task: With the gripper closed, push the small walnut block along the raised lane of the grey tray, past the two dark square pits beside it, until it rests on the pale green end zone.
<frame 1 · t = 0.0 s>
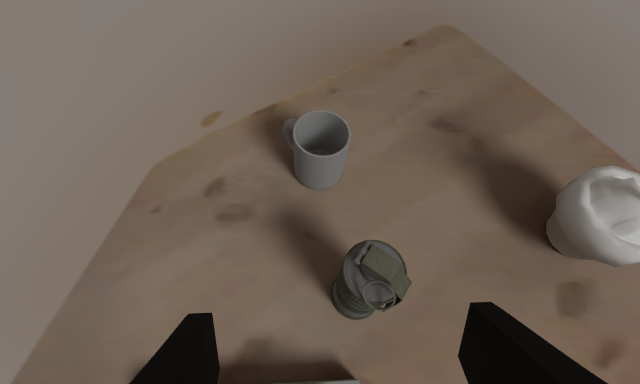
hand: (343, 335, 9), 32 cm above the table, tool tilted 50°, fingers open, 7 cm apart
cup: (310, 165, 50), on the table
grenade: (355, 295, 42), on the table
potted plant: (562, 236, 47), on the table
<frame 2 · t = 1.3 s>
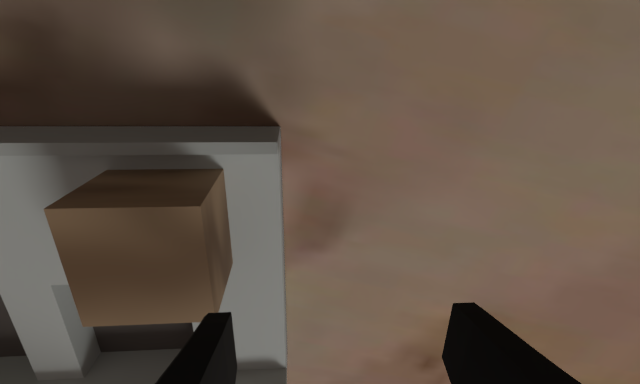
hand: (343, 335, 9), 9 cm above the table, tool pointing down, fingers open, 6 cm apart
block: (174, 219, 16), point 2 cm above the table, touching tray
tray: (84, 261, 18), on the table
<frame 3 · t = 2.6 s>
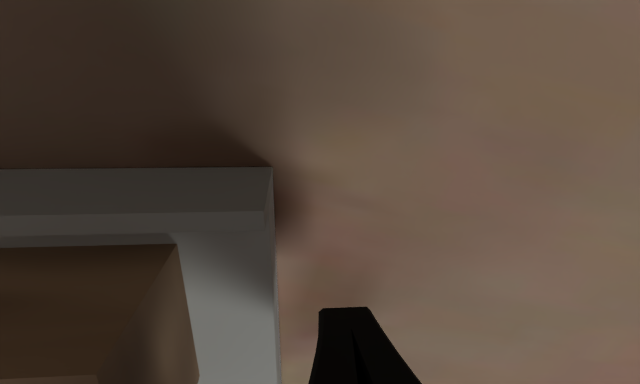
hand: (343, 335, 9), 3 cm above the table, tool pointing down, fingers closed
block: (102, 319, 10), point 2 cm above the table, touching tray
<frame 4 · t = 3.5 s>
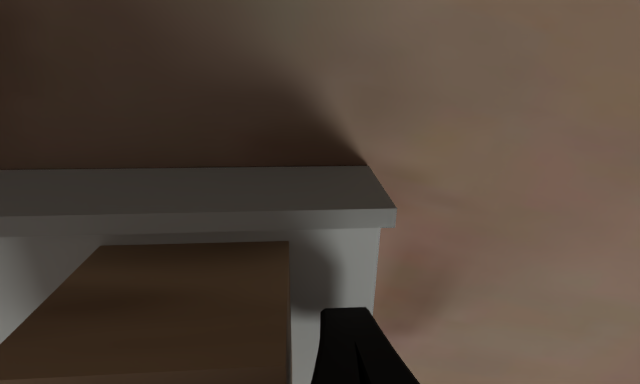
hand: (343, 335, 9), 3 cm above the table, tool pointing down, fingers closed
block: (207, 315, 10), point 2 cm above the table, touching gripper
tray: (71, 355, 13), on the table
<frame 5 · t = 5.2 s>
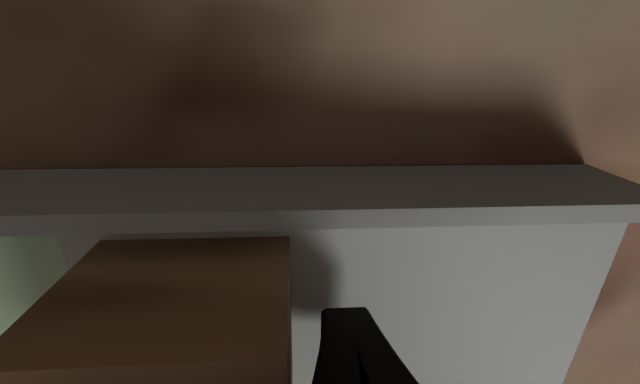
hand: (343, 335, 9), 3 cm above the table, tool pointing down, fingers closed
block: (207, 311, 10), point 2 cm above the table, touching gripper, tray
tray: (267, 346, 13), on the table
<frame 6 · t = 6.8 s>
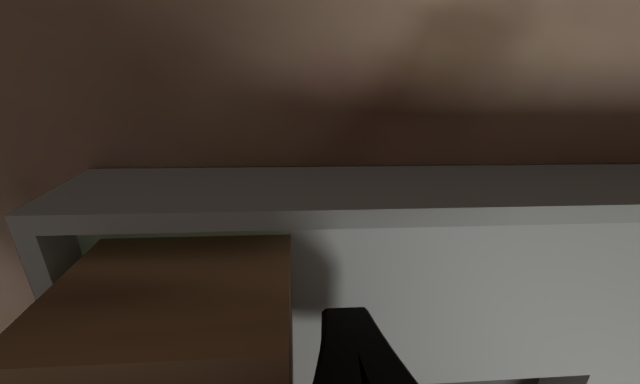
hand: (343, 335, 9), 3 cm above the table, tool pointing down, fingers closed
block: (208, 309, 10), point 2 cm above the table, touching gripper, tray
tray: (413, 339, 14), on the table
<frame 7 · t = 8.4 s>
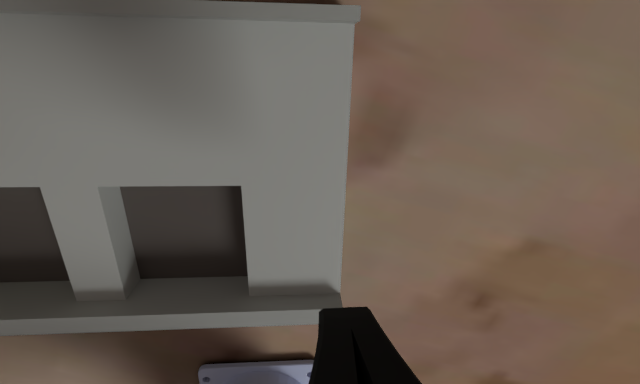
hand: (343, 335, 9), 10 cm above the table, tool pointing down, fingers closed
tray: (128, 172, 17), on the table
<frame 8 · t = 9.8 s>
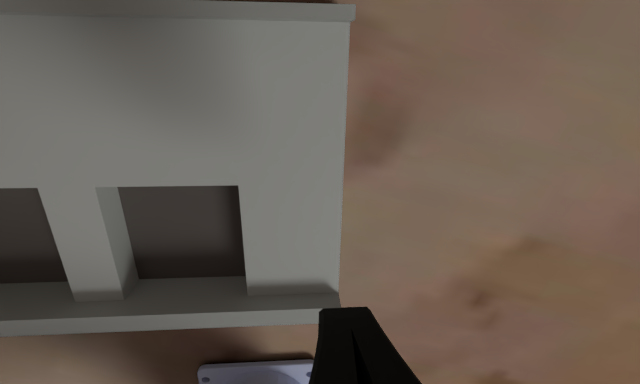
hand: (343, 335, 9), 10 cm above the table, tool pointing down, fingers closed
tray: (126, 172, 17), on the table
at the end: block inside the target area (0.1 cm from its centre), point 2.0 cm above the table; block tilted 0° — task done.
